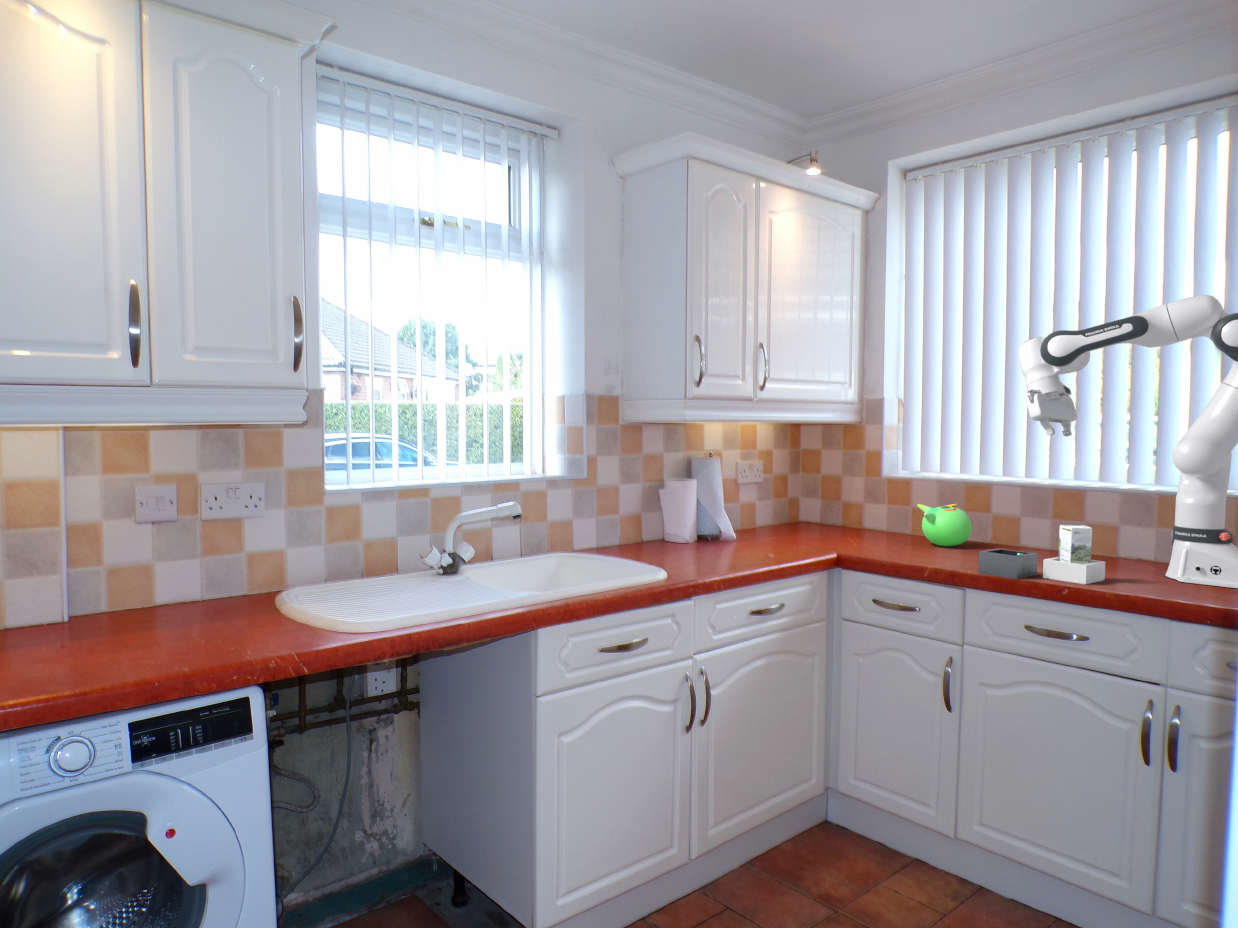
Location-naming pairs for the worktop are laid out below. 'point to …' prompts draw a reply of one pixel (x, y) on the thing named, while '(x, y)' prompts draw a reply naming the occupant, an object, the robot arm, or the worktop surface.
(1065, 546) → the syrup box
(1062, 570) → the white storage tray
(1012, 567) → the gray storage box
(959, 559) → the worktop surface
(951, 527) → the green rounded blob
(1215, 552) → the robot arm
